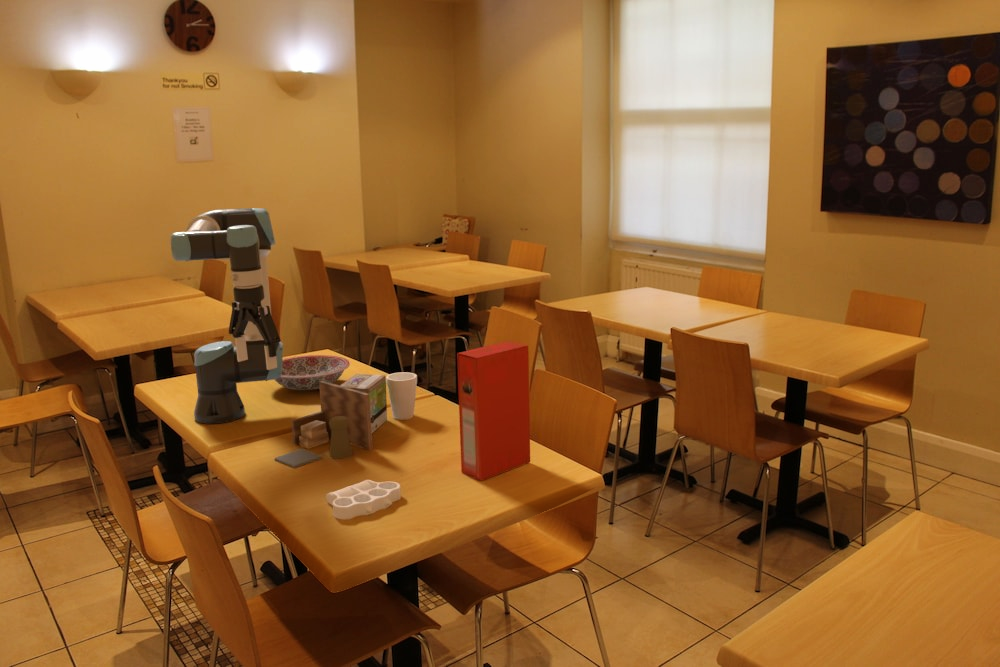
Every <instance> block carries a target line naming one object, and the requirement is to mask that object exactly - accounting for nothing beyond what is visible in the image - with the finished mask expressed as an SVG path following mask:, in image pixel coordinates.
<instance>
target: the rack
mask: <svg viewBox="0 0 1000 667" xmlns="http://www.w3.org/2000/svg"><path fill="white" fill-rule="evenodd" d="M319 397H320V398H319V400H320V411H317V412H315V413H311V414H308V415H304V416H301V417H299V418H295V419H293V420H292V419H291V420H290V422H291V435H292V444H293V445H294V446H295V445H298V444H299V445H300V440H299V436H301V426H302V425H305V424H307V423H310V422H312V421H314V420H318V421H323V422H326V430H327V432H328V437H330V438H331V433H332V429H331V428H330V426H329V421H330V419H331V418H333V417H335V416H344V417H346V418H347V419H348V421H349V425H348V427H347V431H348V436H349V441H350V445H353V446H356V447H359V448H362V449H366V450H368V451H370V450H373V437H372V436H373V435H372V434H373V433H372V432H371V415H370V397H369V394H367V393H364V392H360V391H357V390H353V389H350V388H346V387H343V386H340V385H339V384H335V383H333V384H332V383H328V382H325V381H320V382H319Z"/></svg>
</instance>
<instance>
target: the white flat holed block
mask: <svg viewBox="0 0 1000 667" xmlns="http://www.w3.org/2000/svg"><path fill="white" fill-rule="evenodd" d="M401 487H402V486H401V485H400V483H399V482H396V481H389V480H388V481H387V480H386V481H381V482H379V481H378V482H377V481H373V480H371V479H367V478H366V479H364V480H363V481H361V482H357V483H355V484H352V485H348V486H346V487H343V488H340V489H338V490H334V491H330V492H328V493H327V494H326V495H325V500H326V502H327V503H328V504H329V505H331V506H332V515H333V517H334V518H336V519H338V520H351V519H353V518H355V517H359V516H360V517H361V516H368V515H373V514H375V513H376V512H377V511H381V510H385V509H387V508H389V507H390V506H391V505H393V503H394V502H396V501H400V500H401V498H402V490H401V489H402V488H401Z"/></svg>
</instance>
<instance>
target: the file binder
mask: <svg viewBox="0 0 1000 667" xmlns="http://www.w3.org/2000/svg"><path fill="white" fill-rule="evenodd" d="M456 360H457V382H458V383H457V387H458V388H457V390H458V412H459V415H458V416H459V437H460V438H459V439H460V440H459V442H460V465H461V466H460V468H461V474H463V475H466V476H468V477H470V478H472V479H474V480H477V481H480V482H481V481H483V480H487V479H489V478H491V477H494V476H497V475H500V474H502V473H505V472H507V471H510V470H513V469H515V468H518V467H521V466H524V465H526V464H528V463H531V433H530V432H531V425H530V424H531V423H530V422H531V420H530V417H531V416H530V373H529V372H530V370H529V369H530V367H529V366H530V364H529V363H530V362H529V360H530V359H529V344H528V345H527V344H523V343H518V342H514V341H510V340H508V341H503V342H499V343H494V344H491V345H487V346H481V347H478V348H475V349H474V348H473V349H469V350H466V351H461V352H457V353H456Z"/></svg>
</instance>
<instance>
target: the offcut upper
mask: <svg viewBox="0 0 1000 667" xmlns="http://www.w3.org/2000/svg"><path fill="white" fill-rule="evenodd" d="M326 432H327V430H326V422H323V421H318V420H314V421H312V422H310V423H307V424H305V425H302V426H301V436H303V437H307V438H311V439H312V438H314V437H317V436H319V435H321V434H323V433H326Z"/></svg>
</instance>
